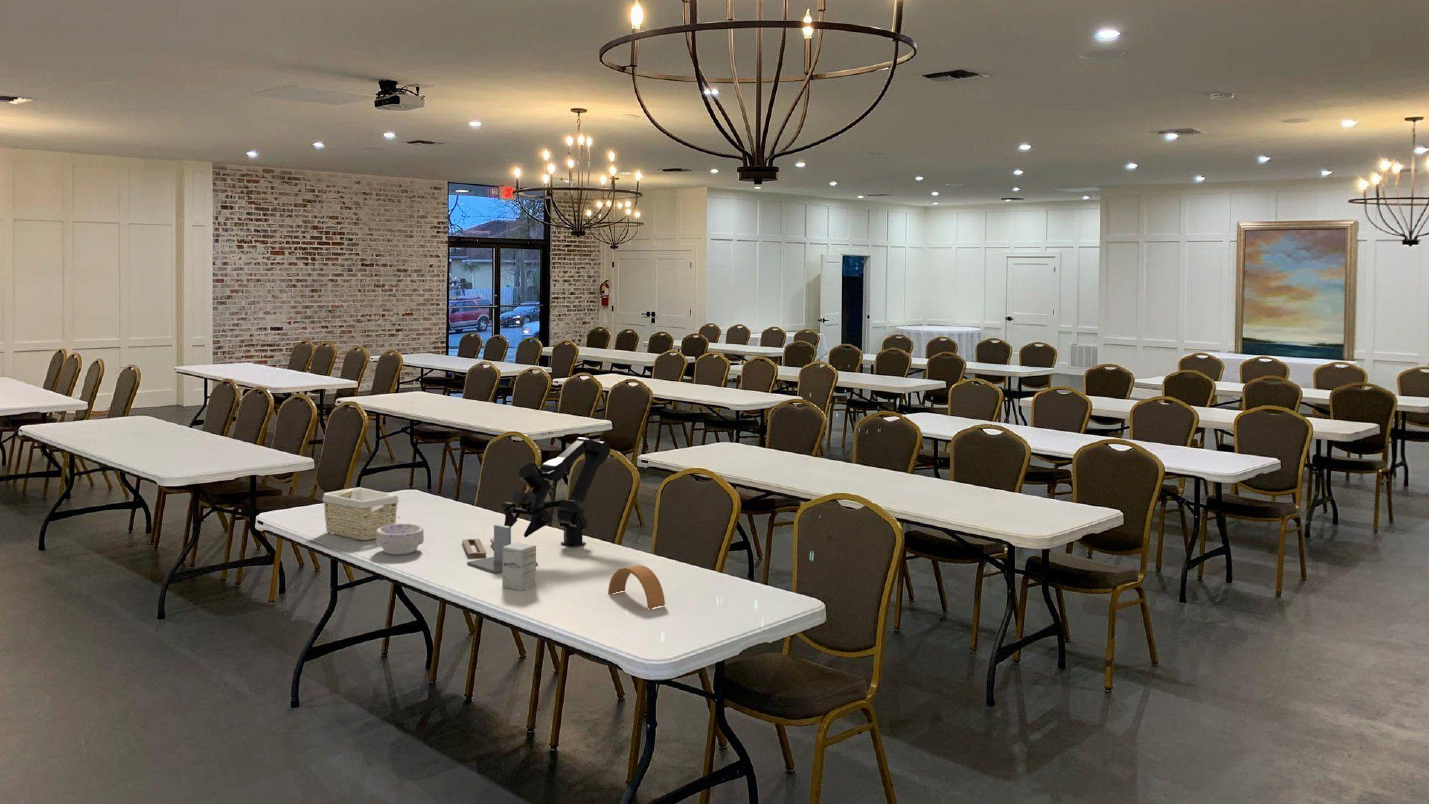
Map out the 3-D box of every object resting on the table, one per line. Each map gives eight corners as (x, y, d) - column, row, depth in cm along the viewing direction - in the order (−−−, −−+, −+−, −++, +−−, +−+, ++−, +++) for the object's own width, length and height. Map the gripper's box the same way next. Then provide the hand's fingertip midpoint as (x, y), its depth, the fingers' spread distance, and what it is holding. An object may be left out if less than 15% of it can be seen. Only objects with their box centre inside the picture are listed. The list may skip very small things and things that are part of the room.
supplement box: (501, 588, 323) (501, 546, 322) (517, 582, 330) (517, 541, 328) (521, 591, 320) (521, 549, 318) (536, 585, 326) (536, 544, 325)
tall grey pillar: (497, 560, 351) (497, 524, 350) (511, 563, 348) (510, 526, 346) (494, 561, 350) (493, 525, 348) (507, 564, 346) (507, 527, 345)
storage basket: (321, 532, 388) (320, 492, 386) (360, 525, 401) (359, 485, 399) (361, 543, 374) (361, 501, 372) (400, 535, 387) (400, 494, 385)
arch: (624, 591, 322) (624, 558, 321) (665, 607, 307) (665, 573, 306) (608, 594, 319) (608, 561, 318) (648, 611, 304) (649, 576, 302)
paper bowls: (395, 559, 353) (395, 536, 352) (367, 552, 362) (366, 528, 361) (433, 551, 365) (433, 528, 364) (405, 543, 374) (404, 521, 373)
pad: (537, 565, 349) (537, 562, 349) (496, 574, 338) (496, 571, 338) (508, 556, 360) (508, 553, 360) (467, 564, 349) (467, 562, 349)
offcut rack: (504, 541, 380) (504, 532, 380) (512, 555, 361) (512, 545, 361) (462, 543, 375) (462, 534, 375) (468, 558, 356) (468, 548, 356)
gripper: (504, 478, 360) (480, 516, 352) (546, 484, 350) (522, 524, 342) (521, 497, 367) (498, 535, 360) (562, 504, 357) (540, 544, 349)
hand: (514, 534), depth 352 cm, fingers open, 9 cm apart
